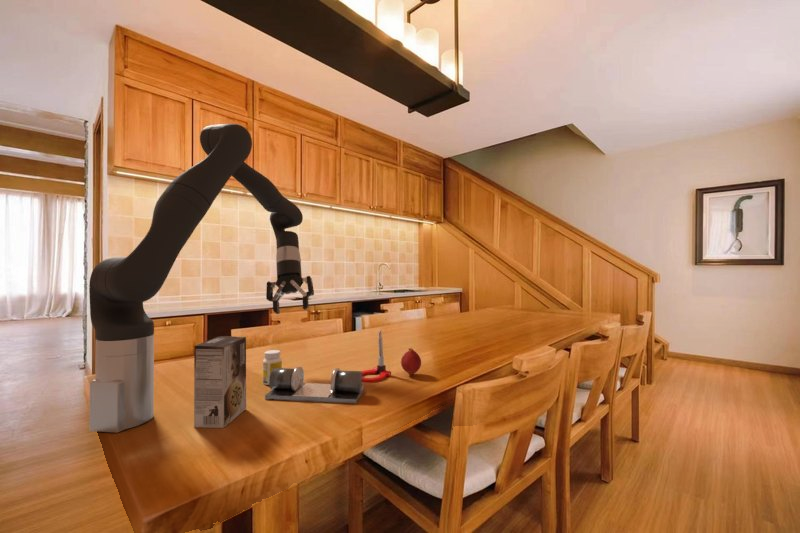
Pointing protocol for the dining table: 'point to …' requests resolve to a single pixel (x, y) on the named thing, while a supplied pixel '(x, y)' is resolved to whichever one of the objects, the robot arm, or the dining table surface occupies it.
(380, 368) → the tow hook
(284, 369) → the twin cylinder plate
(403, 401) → the dining table surface
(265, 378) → the supplement bottle
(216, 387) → the coffee box
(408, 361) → the onion
